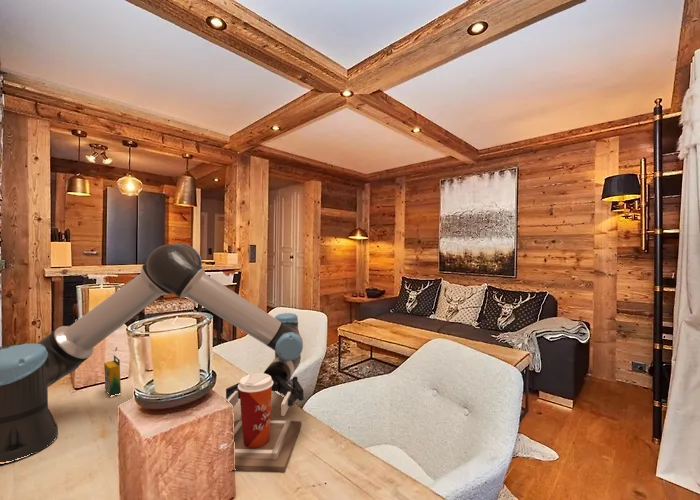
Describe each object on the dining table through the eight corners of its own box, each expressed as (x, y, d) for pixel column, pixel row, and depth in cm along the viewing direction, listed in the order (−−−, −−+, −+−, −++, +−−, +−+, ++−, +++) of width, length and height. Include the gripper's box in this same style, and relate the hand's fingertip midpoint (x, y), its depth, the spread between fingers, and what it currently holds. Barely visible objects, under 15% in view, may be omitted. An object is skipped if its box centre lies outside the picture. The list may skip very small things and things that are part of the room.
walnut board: (202, 469, 71) (201, 458, 71) (235, 424, 89) (235, 415, 89) (284, 472, 70) (284, 460, 70) (301, 425, 88) (301, 416, 88)
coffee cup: (264, 453, 75) (263, 387, 75) (231, 449, 77) (230, 384, 76) (279, 432, 83) (279, 373, 83) (249, 429, 85) (248, 370, 85)
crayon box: (104, 391, 110) (103, 356, 110) (115, 388, 112) (114, 354, 112) (110, 398, 105) (109, 362, 105) (121, 395, 108) (120, 359, 107)
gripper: (320, 386, 98) (307, 426, 77) (237, 385, 100) (202, 424, 78) (320, 361, 98) (306, 394, 77) (237, 360, 99) (201, 392, 78)
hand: (254, 409), depth 78 cm, fingers open, 13 cm apart
